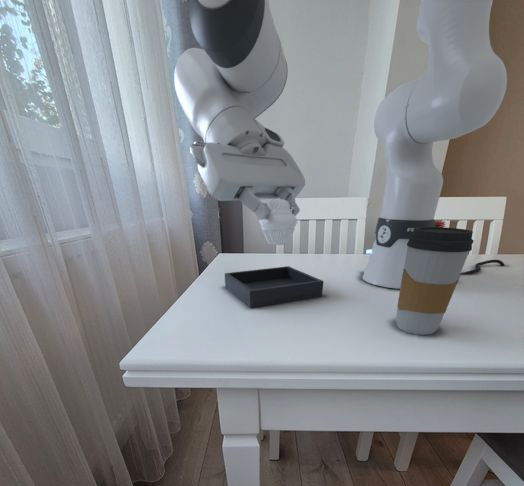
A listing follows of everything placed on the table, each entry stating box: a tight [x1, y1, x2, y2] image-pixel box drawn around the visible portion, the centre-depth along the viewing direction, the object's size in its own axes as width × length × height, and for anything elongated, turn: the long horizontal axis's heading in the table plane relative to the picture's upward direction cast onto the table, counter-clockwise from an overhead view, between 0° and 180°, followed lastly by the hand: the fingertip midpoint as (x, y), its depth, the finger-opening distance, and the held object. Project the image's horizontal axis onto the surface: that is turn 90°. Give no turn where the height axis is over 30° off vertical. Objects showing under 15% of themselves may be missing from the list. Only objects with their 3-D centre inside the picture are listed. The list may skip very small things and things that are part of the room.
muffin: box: [258, 198, 298, 246], centre depth 48 cm, size 6×6×7 cm
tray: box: [224, 265, 324, 308], centre depth 64 cm, size 17×15×3 cm
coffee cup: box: [395, 226, 475, 336], centre depth 45 cm, size 8×8×15 cm
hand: (281, 215), depth 48 cm, fingers closed on muffin, 6 cm apart
